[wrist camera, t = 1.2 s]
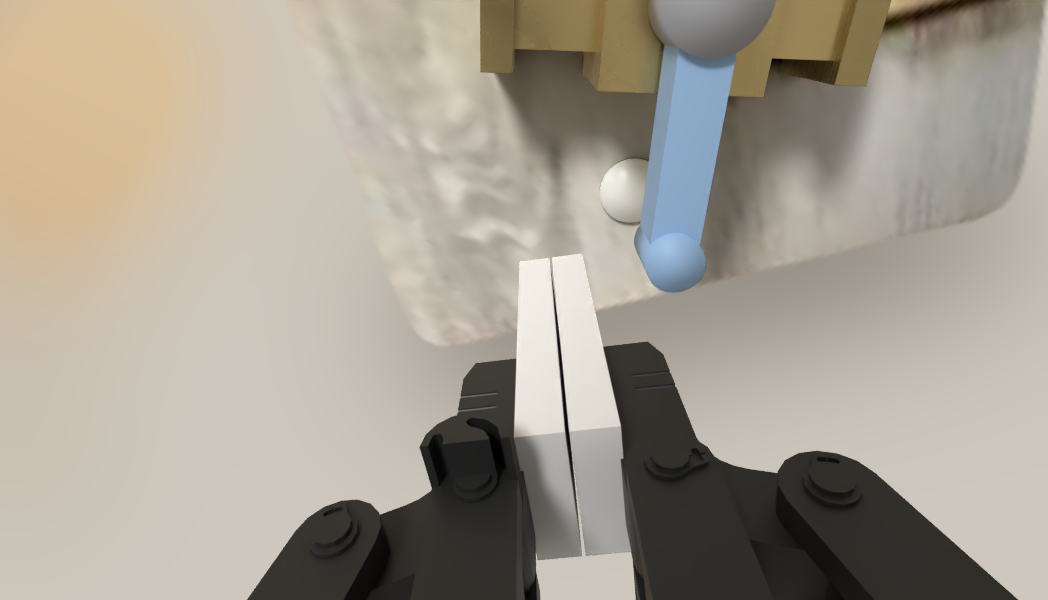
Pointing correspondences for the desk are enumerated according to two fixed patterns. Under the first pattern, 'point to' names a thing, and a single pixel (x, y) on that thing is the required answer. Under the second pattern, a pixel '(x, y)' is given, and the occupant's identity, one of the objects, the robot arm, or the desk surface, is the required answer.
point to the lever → (689, 128)
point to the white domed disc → (624, 190)
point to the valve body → (636, 52)
